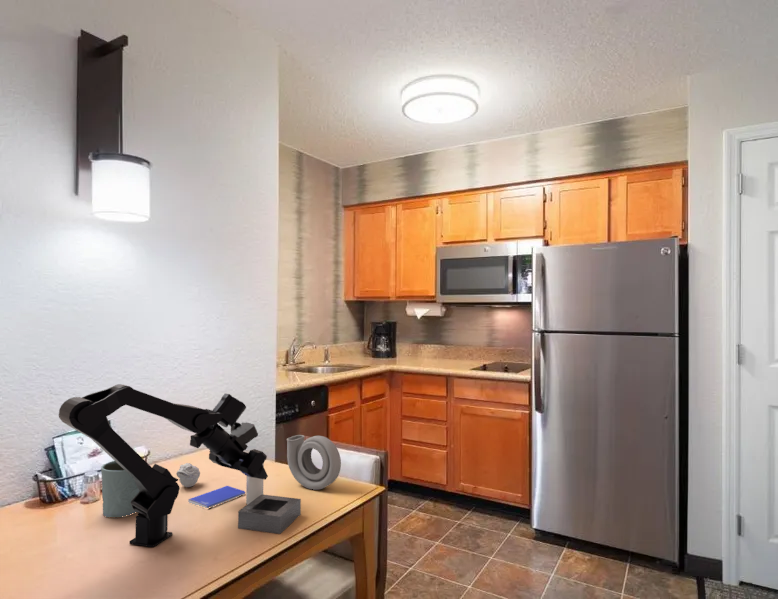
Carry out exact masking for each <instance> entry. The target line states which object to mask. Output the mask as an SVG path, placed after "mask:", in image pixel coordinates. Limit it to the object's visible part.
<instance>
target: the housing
mask: <svg viewBox="0 0 778 599" xmlns="http://www.w3.org/2000/svg"><path fill="white" fill-rule="evenodd" d="M301 502H302V499H301V498H298V497H297V498H295V497H287V496H286V497H285V496H280V495H279V496H278V495H272V494H270V495H269V494H264V493H263V494H261V495H260V496H259V497H257V498H256V499H255V500H253V501H252V502H250V503H249V504H248V505H245V506H244V507H242V508H240V509H239V510H238V511H237V520H238V521H237V528H238V529H242V530H249V531H257V532H261V533H262V532H263V533H271V534H276V535H277V534H278V535H281V533H283V532H284V531H285V530H286V529H287V528H288V527H290V525H292V523H293V522H295V521H296V520H297V519H298V518H299V517H300V516H301V515H302V514H301V512H302V511H301V509H302V508H301V507H302V504H301ZM298 516H299V517H298ZM297 517H298V518H297ZM296 518H297V519H296ZM295 519H296V520H295ZM294 520H295V521H294Z"/></svg>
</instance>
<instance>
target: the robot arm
mask: <svg viewBox="0 0 778 599" xmlns="http://www.w3.org/2000/svg"><path fill="white" fill-rule="evenodd" d="M124 406H128V407H131V408H134V409H137V410H140V411H144V412H146V413H149V414H153V415H155V416H157V417H158V416H159V417H161V418H164V419H165V420H167V421H168V422H170V423H171V424H173V425H175V426H176V427H178V428H180V429H183V430H185V431H188V432H191V433H194V434H191V435H190V441H189V446H190V447H193V448H197V449H199V448H200V447H202V445H203V446H204V447H206V448H207V449H208V450H209V454H208V459H209V461H211V462H212V463H214V464H216V465H218V466H221V467H224V468H228V469H232V470H236V471H239V472H240V473H242V474H243V475H244V476H246V477H247V476H249V477H253V478H259V479H264V480H263V481H265V480H267V478H268V477H269V475H268V473H267V471H266V469H265V467H263V463H265V461H266V460H267V459H268V455H267V454H266V453H265V452H263V451H262V450H259V449H255V448H254V449H251V450H249V452H245V451H247V450H246V449H247V448H249V446H248V443H250V442H251V441H252V440H254V439H255V438H257V437H258V436H259V432H258V431H257V429H256V426H255V424H254V423H251V422H241V423H240V422H238V420H239V418H240V417H241V415H243V413H244V412H245V411H246V409H247V405H246V404H245V403H244V402H243V401H241V400H239V399H237V398H236V397H234V396H232V395H231V394H230V393H224V394H223V395H222V397H221V399H220V400H219V401H218V403H217V404H216V405H215V406H214V408H213V409H209V408H205V409H204V408H201V407H197V406H193V405H189V404H182V403H173V402H170V401H168V400H165V399H163V398H159V397H156V396H154V395H152V394H148V393H146V392H143V391H140V390H138V389H134V388H133V387H132V386H130V385H126V384H121V383H118V384H115V385H113V386H110V387H109V388H108V387H107V388H106V389H103V390H99V391H96V392H92V393H90V394H86V395H84V396H82V397H80V396H75V397H70V398H68V399H66V400H65V401H64V402H63V403H62V404H61V405H60V408H59V410H58V411H59V412H58V418H59V420H60V421H61V422H62V423H63V424H65V425H67V426H68V427H70V428H72V429H73V430H75V431H77V432H79V433H80V434H82V435H83V436H85V437H88V438H89V439H91V441H93V443H95V444H96V445H97V446H99V448H100V449H101V450H103V452H105V453H106V454H107V455H108V456H109V457H110V458H111V459H112V461H116V462H117V463H118V464H119V465H120V466H121V467H122V468H123V469H124V470H125V471H126V472H127V473H128V474H129V475H131V476H132V477H133V479H134V480H135V483H136V485H137V487H138V489H139V490H140V491H139V493H138V494H137V495H136V496H135V497H134V499H133V500H132V501H131V506H132V508H133V510H135V511H137V515H135V531H134V532H135V533H134V535H135V536H134V537H133V538H132V539H131V540H129V543H128V544H130V545H136V546H141V547H146V548H147V547H148V548H154V547H157V545H160V544H161V543H163V542H164V541H165V540H167V539H168V538H170V537H172V536H173V534H174V533H173V532H172V531H168V526H169V524H168V521H169V520H168V519H169V516H168V515H171V513H172V511H173V507H174V505H175V502H176V499H177V498H178V496H179V494H180V485H179V484H178V481H179V478H178V477H177V478H176V477H174V476H173V475H172V473H171V472H170V470H169V469H168V468H167V467H166V468H165V467H163V466H162V465H159V464H157V463H154V464H153V466H151V465H150V464H149V463H148V462H147V461H146V460H145V459H144V458H143V457H142V456H140V454H139V453H137V451H135V450H134V448H133V447H132V446H130V445H129V443H127V442H126V440H124V438H122V437H121V436H120V435H119V434H118V432H116V431H115V430H114V429H113V428H112V426H111V424H110V422H109V420H108V419H109V418H108V416H111V415H112V414H114V413H115V412H117V411H118V410H119V409H120V408H122V407H124ZM223 427H224V428H228V427H230V433H228V431H226V430H225V429H224V428H223Z"/></svg>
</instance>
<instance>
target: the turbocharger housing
mask: <svg viewBox="0 0 778 599" xmlns="http://www.w3.org/2000/svg"><path fill="white" fill-rule="evenodd" d="M305 437H306V436H305V435H303V434H297V435H292V436H291V437H288V438H286V442H287V443H286V444H287V445H286V446H287V447H286V448H287V449H286V459H287V465H288V469H289V470H290V473H291V475H292V476H293V478H294V479H295V481H296V482H297V483H299V484H300V485H301V486H303V487H304V488H306V489H308V490H312V489H313V491H315V490H318V491H319V490H322V489H325V488H326V487H328V486H330V485H332V484H333V483H334V482H335V481H336V480H337V479H338V477H339V475H340V472H341V468H342V467H341V466H342V462H341V461H342V459H341V456H340V452H339V449H338V448H337V446H336V445H335V443H334V442H333V441H332V440H330V439H329V437H326V436H323V435H314V436H310V437H308V438H306V439H305ZM313 450H316V451H317V453H318V454H319V455H320V457H321V461H322V465H321V469H320V468H318V467H317V466H316V465H315V464H314V462H313V458H312V452H313Z"/></svg>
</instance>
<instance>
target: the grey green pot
mask: <svg viewBox="0 0 778 599" xmlns="http://www.w3.org/2000/svg"><path fill="white" fill-rule="evenodd" d="M100 471H101V472H100V473H101V487H102V488H101V497H102V498H101V499H102V502H103V503H102V515H103V516H104V517H105V516H106V517H105V518H107V517H122V516H126V515H130V514H132V513H135V512H137V511H135V510H133V508H132V506H131V501H132V500H133V499H134V497H135V496H136V495H137V494H138V493H139V491H140V490H139V489H138V487H137V485H136V483H135V480H134V479H133V477H132V476H131V475H129V474H128V473H127V472H126V471H125V470H124V469H123V468H122V467H121V466H120V465H119V464H118V463H117V462H116V461H114V460H111V461H108V462H106V463H104V464H102V466H101V467H100ZM137 513H138V512H137ZM135 514H136V513H135ZM130 516H131V515H130ZM122 518H123V517H122Z"/></svg>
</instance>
